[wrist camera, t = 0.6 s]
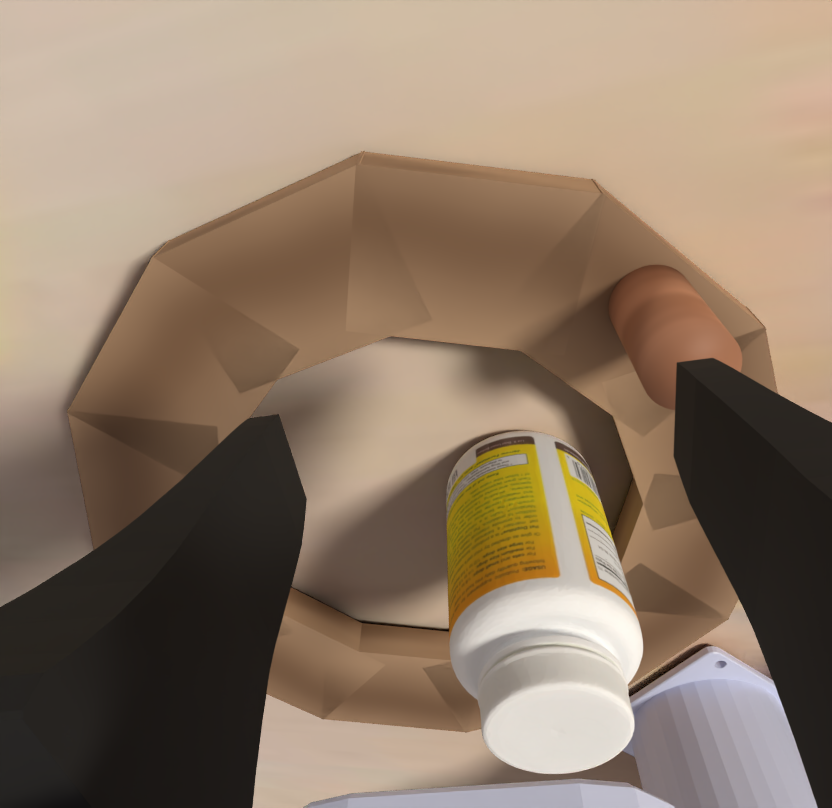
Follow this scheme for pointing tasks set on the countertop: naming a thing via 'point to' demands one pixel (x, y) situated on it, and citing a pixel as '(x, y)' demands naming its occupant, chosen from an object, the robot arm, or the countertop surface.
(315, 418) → the countertop surface
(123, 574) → the robot arm
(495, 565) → the supplement bottle
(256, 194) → the countertop surface
